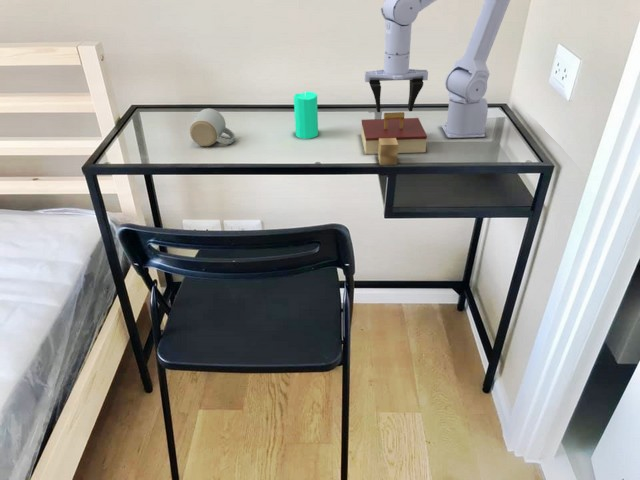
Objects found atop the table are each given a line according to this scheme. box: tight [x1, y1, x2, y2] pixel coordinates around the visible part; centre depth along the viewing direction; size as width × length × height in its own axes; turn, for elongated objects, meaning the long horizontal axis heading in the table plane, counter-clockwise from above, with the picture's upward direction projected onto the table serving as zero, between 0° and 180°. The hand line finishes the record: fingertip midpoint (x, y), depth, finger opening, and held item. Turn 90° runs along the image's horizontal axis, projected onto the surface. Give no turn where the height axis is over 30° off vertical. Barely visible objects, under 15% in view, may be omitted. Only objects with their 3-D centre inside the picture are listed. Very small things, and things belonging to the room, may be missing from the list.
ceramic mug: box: [189, 108, 236, 147], centre depth 136 cm, size 11×8×8 cm
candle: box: [293, 91, 319, 140], centre depth 137 cm, size 6×6×12 cm
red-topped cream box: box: [360, 122, 428, 155], centre depth 133 cm, size 12×15×4 cm
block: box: [377, 138, 399, 166], centre depth 124 cm, size 4×4×5 cm
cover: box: [361, 111, 428, 141], centre depth 130 cm, size 13×15×5 cm
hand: (394, 110), depth 128 cm, fingers open, 7 cm apart
